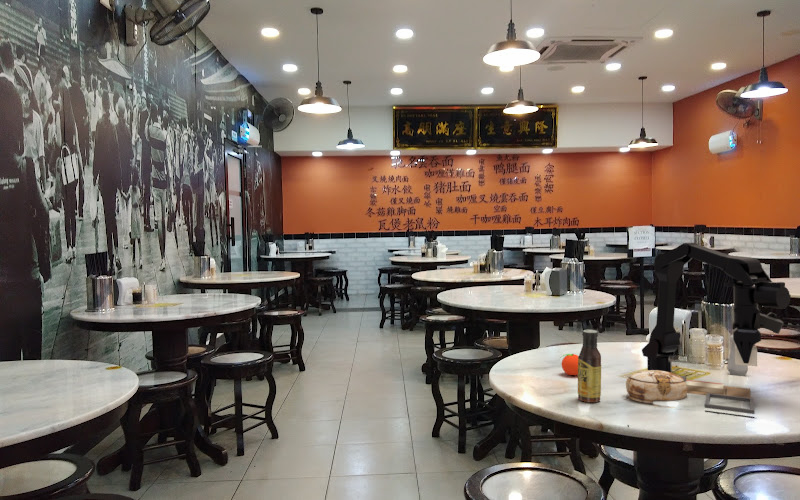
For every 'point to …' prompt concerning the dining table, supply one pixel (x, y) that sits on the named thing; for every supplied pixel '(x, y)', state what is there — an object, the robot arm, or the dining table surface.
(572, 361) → the clementine
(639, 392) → the trinket box
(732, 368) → the salt shaker
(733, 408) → the tray
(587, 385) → the sauce bottle
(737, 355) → the stub
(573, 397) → the dining table surface
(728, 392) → the board
